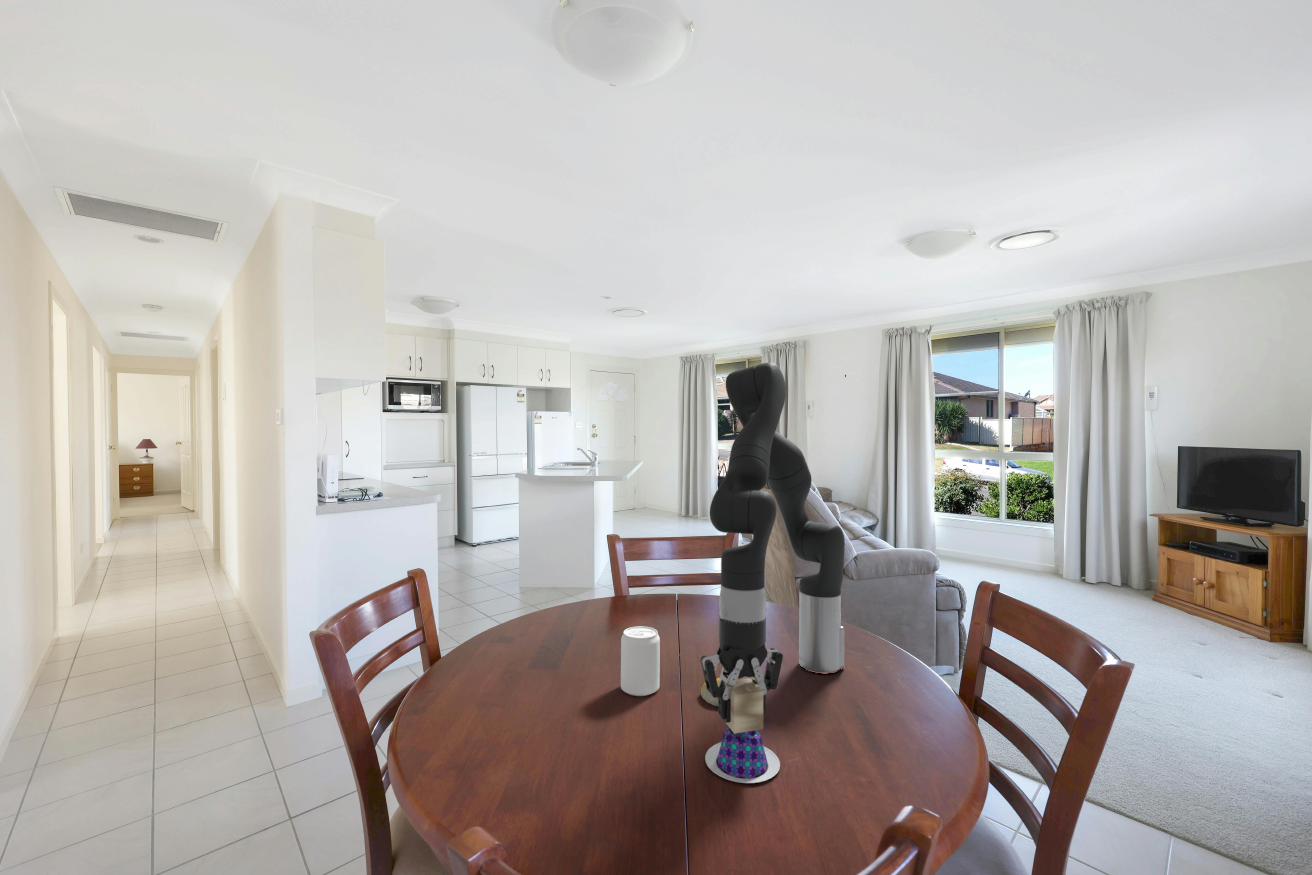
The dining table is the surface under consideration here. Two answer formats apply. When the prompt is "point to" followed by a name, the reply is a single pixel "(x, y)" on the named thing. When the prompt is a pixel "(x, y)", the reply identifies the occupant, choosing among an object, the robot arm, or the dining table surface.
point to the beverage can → (640, 661)
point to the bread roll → (709, 694)
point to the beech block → (746, 707)
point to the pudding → (742, 757)
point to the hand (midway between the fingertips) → (741, 717)
